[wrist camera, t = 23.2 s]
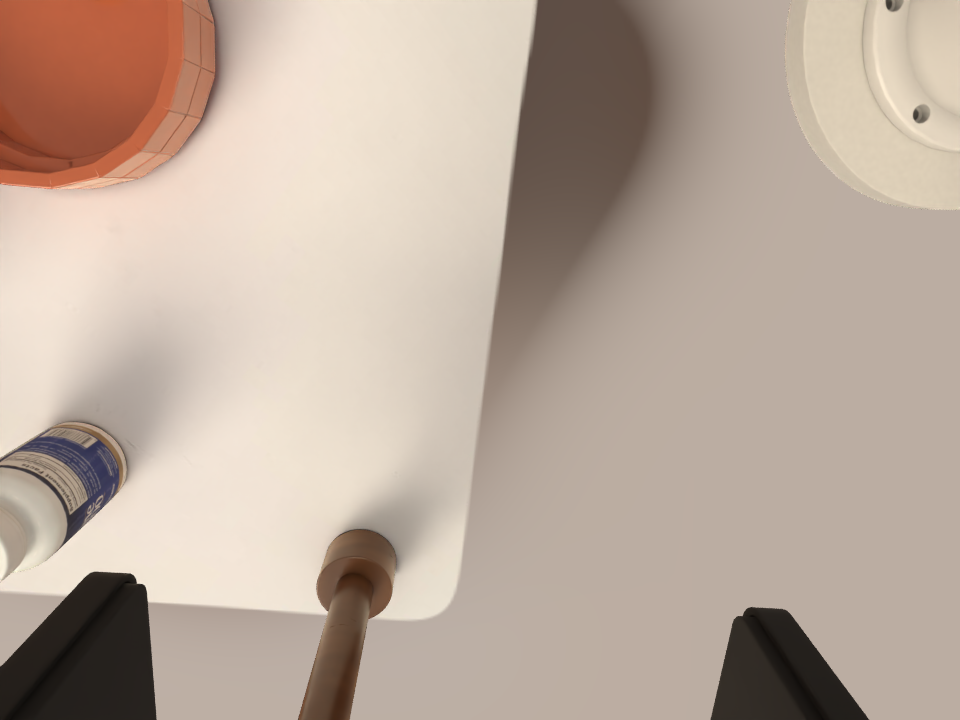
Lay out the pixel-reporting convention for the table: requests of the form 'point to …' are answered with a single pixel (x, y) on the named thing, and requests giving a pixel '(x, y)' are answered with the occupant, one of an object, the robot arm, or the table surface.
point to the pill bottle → (54, 491)
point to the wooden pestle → (347, 618)
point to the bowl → (99, 87)
